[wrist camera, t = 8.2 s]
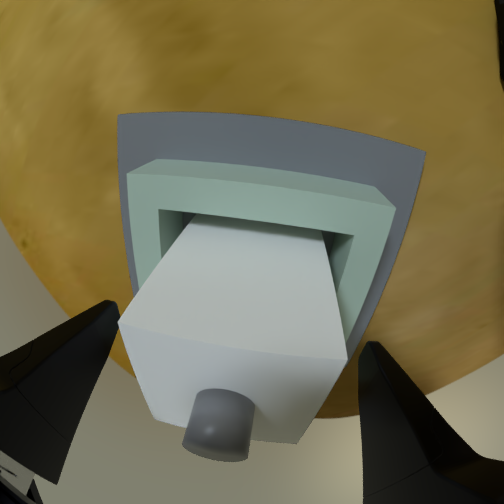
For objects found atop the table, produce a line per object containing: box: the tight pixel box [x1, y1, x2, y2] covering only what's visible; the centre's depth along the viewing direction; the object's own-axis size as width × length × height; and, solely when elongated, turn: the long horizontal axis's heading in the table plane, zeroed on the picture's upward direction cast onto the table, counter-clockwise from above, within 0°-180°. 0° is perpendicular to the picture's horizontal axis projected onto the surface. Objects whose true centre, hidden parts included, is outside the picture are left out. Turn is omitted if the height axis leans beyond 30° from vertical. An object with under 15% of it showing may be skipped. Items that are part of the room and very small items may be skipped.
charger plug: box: [118, 213, 348, 462], centre depth 9 cm, size 5×5×8 cm
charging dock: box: [118, 112, 426, 367], centre depth 12 cm, size 13×13×3 cm
